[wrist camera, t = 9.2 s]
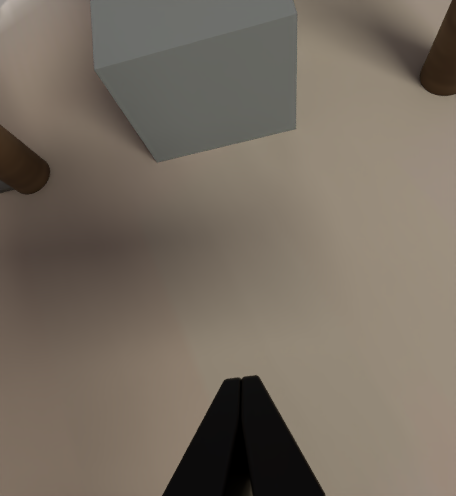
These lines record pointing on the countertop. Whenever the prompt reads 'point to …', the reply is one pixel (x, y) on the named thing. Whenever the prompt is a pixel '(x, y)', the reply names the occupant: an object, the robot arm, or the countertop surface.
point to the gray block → (198, 69)
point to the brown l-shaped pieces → (37, 170)
